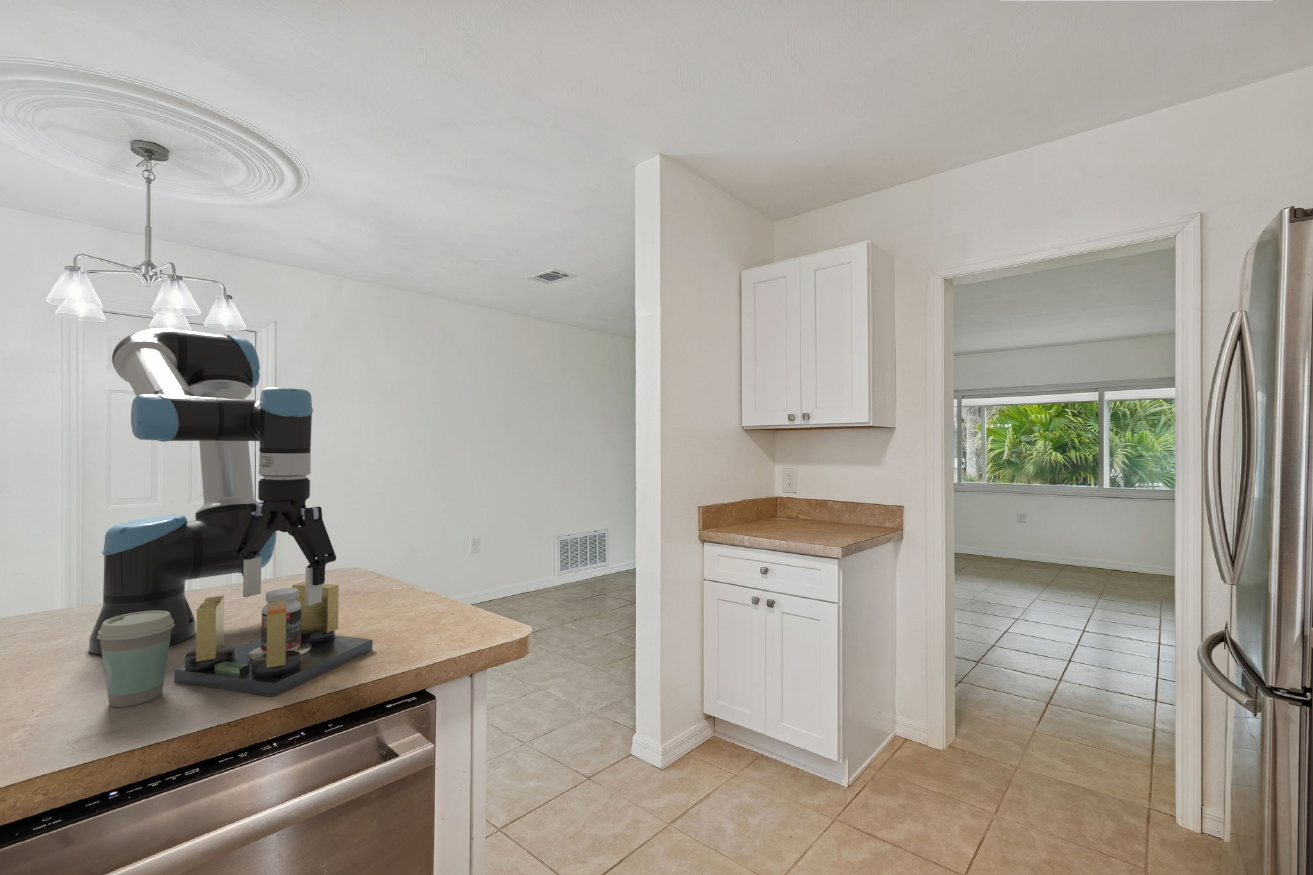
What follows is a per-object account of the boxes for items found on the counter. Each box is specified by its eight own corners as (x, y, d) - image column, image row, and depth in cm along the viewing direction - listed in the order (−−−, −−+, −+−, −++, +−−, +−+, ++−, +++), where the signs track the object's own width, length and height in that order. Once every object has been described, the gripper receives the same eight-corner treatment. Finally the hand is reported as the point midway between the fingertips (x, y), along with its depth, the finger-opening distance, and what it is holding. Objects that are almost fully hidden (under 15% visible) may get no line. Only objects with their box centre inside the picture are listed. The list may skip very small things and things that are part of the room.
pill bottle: (274, 657, 94) (275, 597, 94) (253, 652, 97) (254, 593, 97) (308, 646, 99) (308, 589, 100) (287, 641, 102) (288, 585, 102)
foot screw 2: (281, 643, 103) (282, 587, 103) (312, 631, 109) (312, 579, 109) (317, 647, 100) (318, 590, 101) (346, 635, 107) (347, 582, 107)
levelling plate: (174, 681, 91) (174, 661, 91) (285, 639, 110) (286, 623, 110) (273, 697, 86) (273, 675, 86) (372, 650, 105) (372, 632, 105)
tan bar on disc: (253, 666, 92) (254, 600, 92) (300, 658, 96) (300, 594, 96) (250, 683, 85) (251, 612, 86) (300, 674, 89) (301, 606, 89)
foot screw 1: (190, 659, 95) (191, 599, 95) (237, 652, 98) (238, 594, 98) (179, 676, 88) (180, 611, 88) (230, 668, 91) (231, 606, 91)
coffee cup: (129, 687, 89) (130, 609, 89) (187, 685, 89) (188, 608, 90) (78, 713, 80) (79, 627, 80) (143, 711, 81) (144, 626, 81)
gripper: (208, 475, 99) (206, 597, 99) (325, 482, 92) (322, 613, 92) (249, 472, 106) (247, 586, 106) (360, 479, 99) (357, 600, 99)
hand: (282, 599), depth 99 cm, fingers open, 13 cm apart
